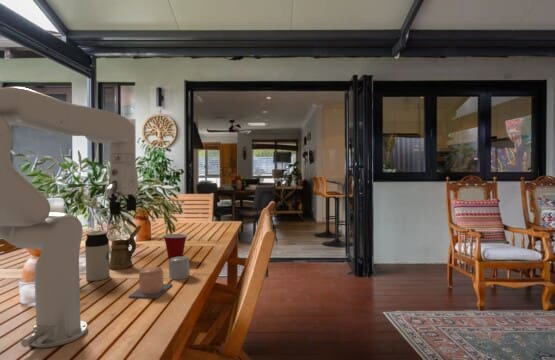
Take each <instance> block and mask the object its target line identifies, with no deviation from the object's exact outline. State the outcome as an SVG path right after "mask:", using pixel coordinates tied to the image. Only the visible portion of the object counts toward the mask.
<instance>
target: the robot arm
mask: <svg viewBox="0 0 555 360" xmlns="http://www.w3.org/2000/svg"><path fill="white" fill-rule="evenodd" d="M11 126H22V127H27V128H32V129H36V130H40V131H44V132H45V131H46V132H49V133H53V134H57V135H60V136H61V135H62V136H73V137H85V139H86V140H87V141H89V142H91V143H96V144H108V145H109V165H110V167H109V173H108V174H109V175H108V176H109V178H108V183H109V184H108V186H107V188H106V189H105V191H106V192H105V193H106V194H107V198H108V202H109V214H110V215H111V216H116V215H117V216H120V215H121V214H122V209H121V208H122V207H121V206H122V204H121V201H120V200H121V198H122V196H126V199H125V200H126V201H125V204H126V211H127V212H128V211H129V212H130V211H131V212H133V211H135V212H136V210H137V198H138V195H137V194H138V192H139V182H138V172H137V167H136V129H135V128H136V127H135V125H134V123H133V122H131V121H130V120H129V119H128V118H127V117H126V116H123V115H121V114H118V113H115V112H114V111H113V112H112V111H109V110H104V109H100V108H96V107H90V106H85V105H81V104H75V103H71V102H67V101H65V100H61V99H60V98H59V99H58V98H56V97H53V96H50V95H47V94H44V93H41V92H38V91H36V90H32V89H29V88H26V87H22V86H9V87H7V86H6V87H0V239H2V240H4V241H5V242H7V243H9V244H10V245H12V246H14V247H16V248H20V249H25V250H26V249H27V250H37V251H38V250H39V251H41V252H40V255H39V257H38V259H37V261H36V263H35V267H34V270H33V272H34V273H33V274H34V275H33V276H34V297H35V325H34V326H33V331H32V332H31V334H29V335H27V336H26V337H24V338H22V340H21V341H20V344H21V347H23V348H27V347H28V346H29V347H30V346H32V347H34V348H40V349H41V348H43V349H44V348H45V349H46V348H54V347H60V346H62V345H65V344H69V343H71V342H73V341H75V340H78V339H79V338H81V337H83V335H85V334H86V333H87V332H88V326H89V325H88V323H87V322H86V321H84V320H81V288H80V284H81V283H80V249H81V243H82V239H83V233H84V232H83V228H84V227H83V224H82V222H81V220H80V219H79V218H78V217H77V216H76V215H72V214H71V213H66V212H57V211H56V212H55V211H53V212H52V211H51V204H50V201H49V199H48V198H47V197H46V196H45V195H44V193H43V192H42V191H40V190H39V189H38V188H36V186H35V185H33V184H32V183H31V182H30V181H29V180H28V179H27V178H25V176H23V175H22V174H21V173H20V172H19V171H18V170H17V169H16V168H15V166H14V165H13V163H12V159H11V147H12V142H13V131H12V127H11Z"/></svg>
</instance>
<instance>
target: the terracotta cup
mask: <svg viewBox="0 0 555 360" xmlns="http://www.w3.org/2000/svg"><path fill="white" fill-rule="evenodd" d="M138 275H139V276H138V277H139V280H138V281H139V283H138V284H139V288H140V292H141V293H142V294H153V293H157V292H160V291H161V290H162V289H163V284H164V272H163V269H162V267H158V266H151V267H143V268H142V269H140V270H139V273H138Z"/></svg>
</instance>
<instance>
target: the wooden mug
mask: <svg viewBox="0 0 555 360" xmlns="http://www.w3.org/2000/svg"><path fill="white" fill-rule="evenodd" d="M140 230H141V225H138V226H137V227H136V228H135V229H134V230H133V231H132V233H131V234H130V235H129V238H126V239H117V240H112V242H111V246H110V249H111V251H110V257H109V270H112V271H113V270H114V271H115V270H116V271H117V270H118V269H119V270H125V269H128V268H130V267H132V266H133V260H132V256H133V254H134V253H135V251H136V248H137V242H136V240H135V239H134V238H135V237H136V236H137V234H138V233H139V231H140ZM130 246H131V249H130Z"/></svg>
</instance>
